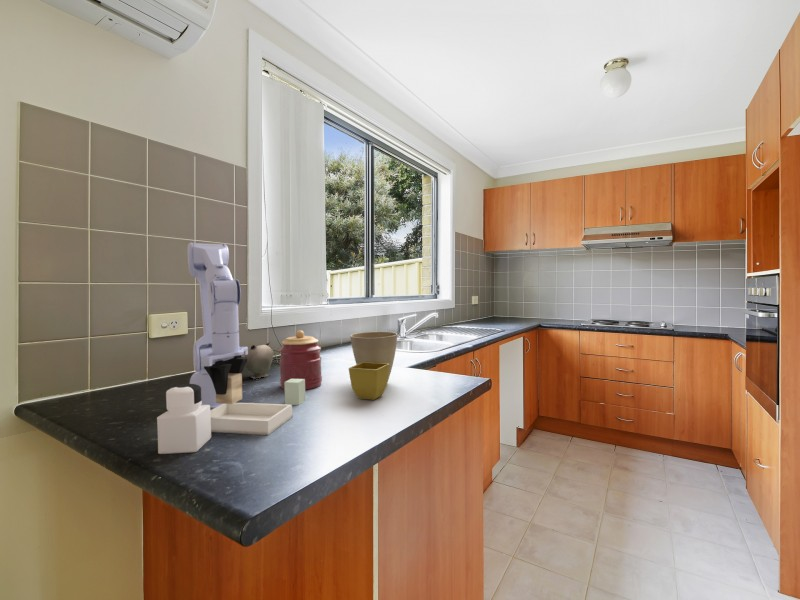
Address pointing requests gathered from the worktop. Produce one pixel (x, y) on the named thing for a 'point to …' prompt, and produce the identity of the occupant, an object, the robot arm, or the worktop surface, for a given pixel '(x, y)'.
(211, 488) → the worktop surface
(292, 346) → the canister
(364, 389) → the flower pot
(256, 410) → the serving tray
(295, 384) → the sage block
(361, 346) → the plant pot
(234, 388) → the maple block
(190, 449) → the medicine bottle
